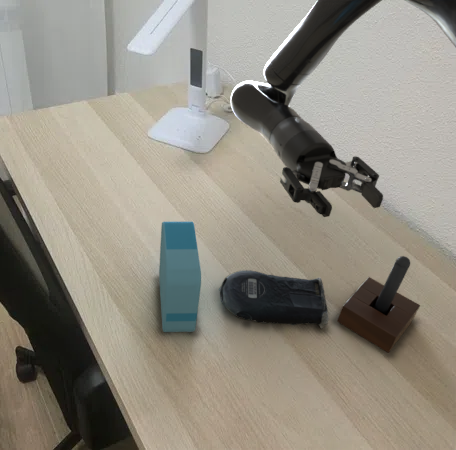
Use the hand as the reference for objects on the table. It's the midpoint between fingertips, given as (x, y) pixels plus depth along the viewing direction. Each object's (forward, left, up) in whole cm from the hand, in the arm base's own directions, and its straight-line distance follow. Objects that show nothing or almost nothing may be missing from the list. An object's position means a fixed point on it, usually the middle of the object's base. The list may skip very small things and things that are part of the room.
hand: (354, 207), depth 80 cm
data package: (+24, -13, -13) cm, 30 cm away
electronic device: (+14, -3, -13) cm, 19 cm away
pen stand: (+6, +10, -13) cm, 17 cm away
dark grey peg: (+6, +10, -13) cm, 17 cm away
